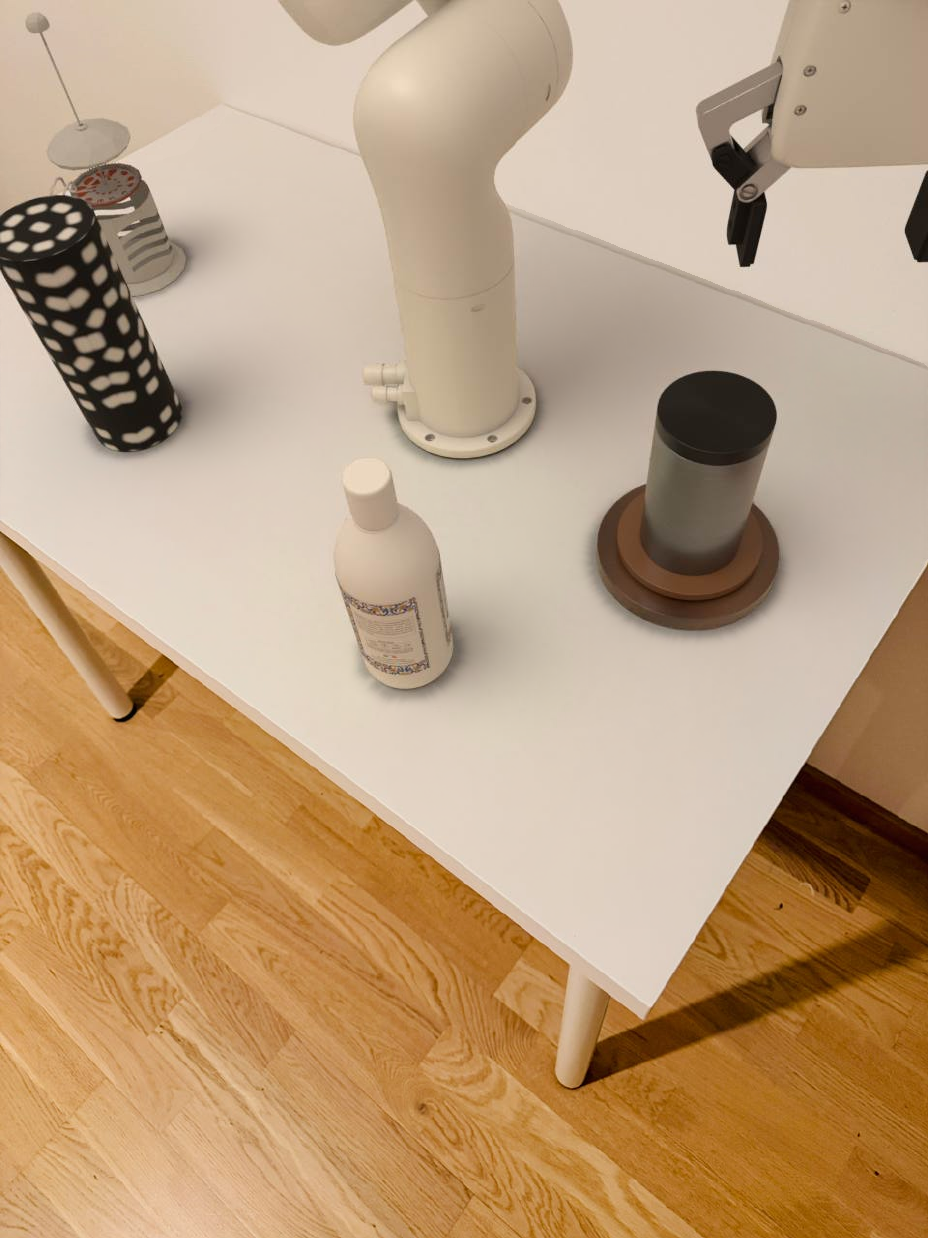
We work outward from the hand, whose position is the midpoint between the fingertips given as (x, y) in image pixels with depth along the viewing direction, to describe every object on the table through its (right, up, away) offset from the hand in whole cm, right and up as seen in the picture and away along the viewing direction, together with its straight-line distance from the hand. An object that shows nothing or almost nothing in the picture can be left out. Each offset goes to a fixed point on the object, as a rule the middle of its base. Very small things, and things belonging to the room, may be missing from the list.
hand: (828, 249), depth 52 cm
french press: (-57, +16, +46) cm, 75 cm away
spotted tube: (-52, -2, +33) cm, 62 cm away
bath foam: (-25, -24, +17) cm, 39 cm away
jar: (-3, -15, +19) cm, 24 cm away
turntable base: (-3, -16, +20) cm, 26 cm away
